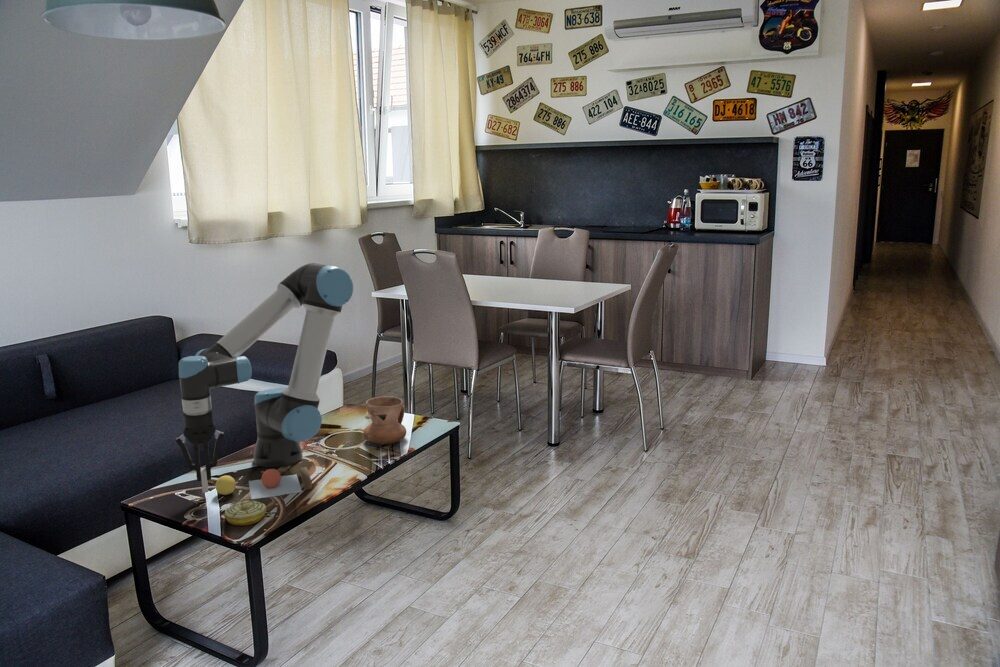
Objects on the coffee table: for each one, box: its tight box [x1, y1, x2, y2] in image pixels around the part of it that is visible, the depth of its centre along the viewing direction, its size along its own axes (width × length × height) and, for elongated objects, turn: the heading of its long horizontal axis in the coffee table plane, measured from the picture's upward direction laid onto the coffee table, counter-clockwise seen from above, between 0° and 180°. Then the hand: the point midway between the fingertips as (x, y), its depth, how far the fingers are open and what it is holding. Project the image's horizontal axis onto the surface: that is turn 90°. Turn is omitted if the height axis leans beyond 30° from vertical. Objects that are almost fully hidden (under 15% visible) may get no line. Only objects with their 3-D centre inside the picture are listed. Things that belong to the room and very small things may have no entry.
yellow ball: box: [215, 474, 237, 496], centre depth 226 cm, size 6×6×6 cm
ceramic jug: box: [363, 395, 407, 445], centre depth 268 cm, size 18×14×14 cm
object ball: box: [261, 468, 282, 488], centre depth 231 cm, size 6×6×6 cm
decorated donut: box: [224, 500, 267, 527], centre depth 211 cm, size 10×11×4 cm
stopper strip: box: [299, 466, 313, 491], centre depth 234 cm, size 2×12×2 cm, turn 20°
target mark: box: [248, 473, 303, 501], centre depth 232 cm, size 14×14×1 cm
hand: (205, 490), depth 225 cm, fingers closed
